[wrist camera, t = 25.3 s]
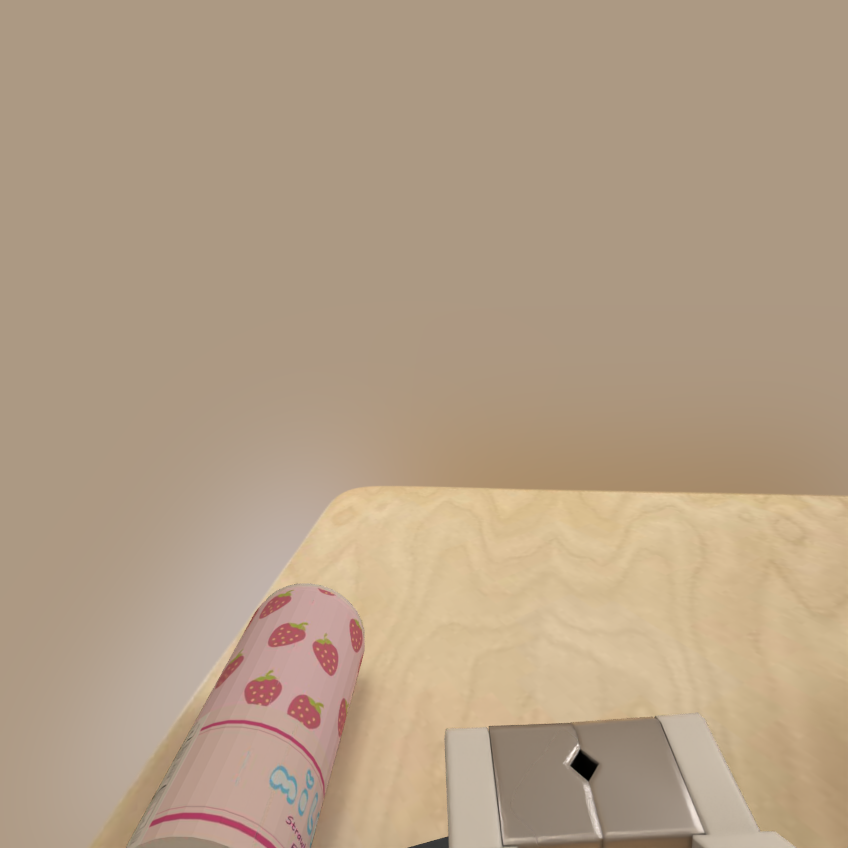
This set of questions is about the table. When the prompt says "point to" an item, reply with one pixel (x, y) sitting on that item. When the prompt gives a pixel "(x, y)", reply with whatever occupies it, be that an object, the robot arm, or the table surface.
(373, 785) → the table surface
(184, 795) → the beverage can
